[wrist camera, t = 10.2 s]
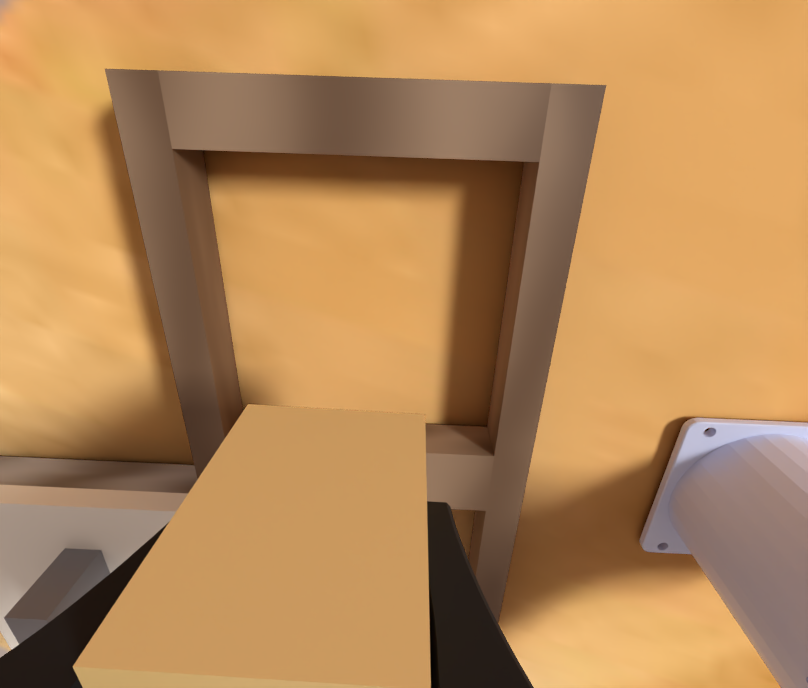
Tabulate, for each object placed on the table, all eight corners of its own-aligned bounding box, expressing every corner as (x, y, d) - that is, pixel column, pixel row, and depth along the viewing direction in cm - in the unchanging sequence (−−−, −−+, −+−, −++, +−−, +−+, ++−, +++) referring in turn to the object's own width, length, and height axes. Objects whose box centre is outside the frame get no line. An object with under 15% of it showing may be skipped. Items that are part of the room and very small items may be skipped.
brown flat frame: (580, 93, 14) (605, 85, 12) (481, 644, 26) (486, 681, 24) (-217, 66, 14) (-312, 55, 12) (59, 622, 26) (32, 657, 24)
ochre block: (424, 414, 11) (430, 689, 5) (414, 540, 13) (411, 838, 7) (247, 403, 11) (72, 666, 5) (264, 531, 13) (147, 821, 7)
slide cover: (221, 494, 18) (172, 581, 15) (254, 660, 23) (223, 755, 20) (-55, 482, 18) (-171, 564, 15) (38, 648, 23) (-32, 740, 20)
